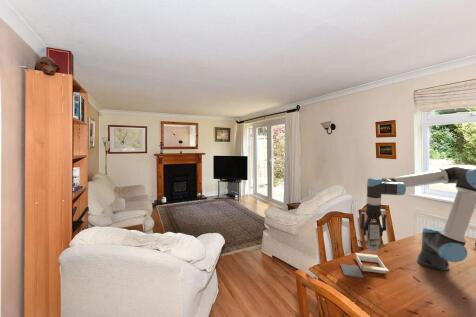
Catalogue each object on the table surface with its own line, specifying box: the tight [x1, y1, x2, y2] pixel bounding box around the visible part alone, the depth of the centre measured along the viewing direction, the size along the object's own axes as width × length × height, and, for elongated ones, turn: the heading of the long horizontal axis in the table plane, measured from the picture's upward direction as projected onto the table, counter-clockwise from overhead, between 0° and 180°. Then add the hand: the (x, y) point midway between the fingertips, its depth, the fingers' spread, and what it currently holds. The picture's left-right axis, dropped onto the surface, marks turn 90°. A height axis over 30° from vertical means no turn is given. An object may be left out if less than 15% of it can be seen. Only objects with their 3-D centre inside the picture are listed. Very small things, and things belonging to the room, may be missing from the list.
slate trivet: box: [339, 263, 365, 279], centre depth 137 cm, size 10×12×1 cm
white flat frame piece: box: [354, 252, 390, 274], centre depth 143 cm, size 13×19×3 cm
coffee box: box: [364, 219, 382, 253], centre depth 142 cm, size 9×6×16 cm
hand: (372, 240), depth 142 cm, fingers closed on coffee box, 6 cm apart
